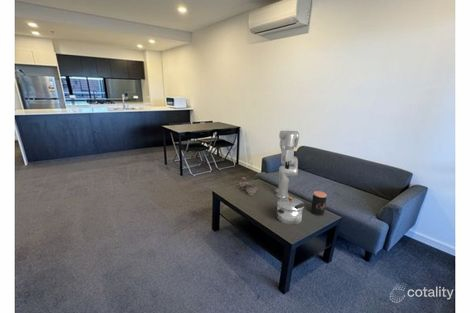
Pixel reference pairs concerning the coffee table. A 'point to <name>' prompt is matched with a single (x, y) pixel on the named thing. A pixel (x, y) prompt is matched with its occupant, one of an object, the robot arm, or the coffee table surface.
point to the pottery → (251, 188)
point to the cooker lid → (291, 204)
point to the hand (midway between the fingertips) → (286, 168)
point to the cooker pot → (289, 216)
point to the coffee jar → (318, 203)
